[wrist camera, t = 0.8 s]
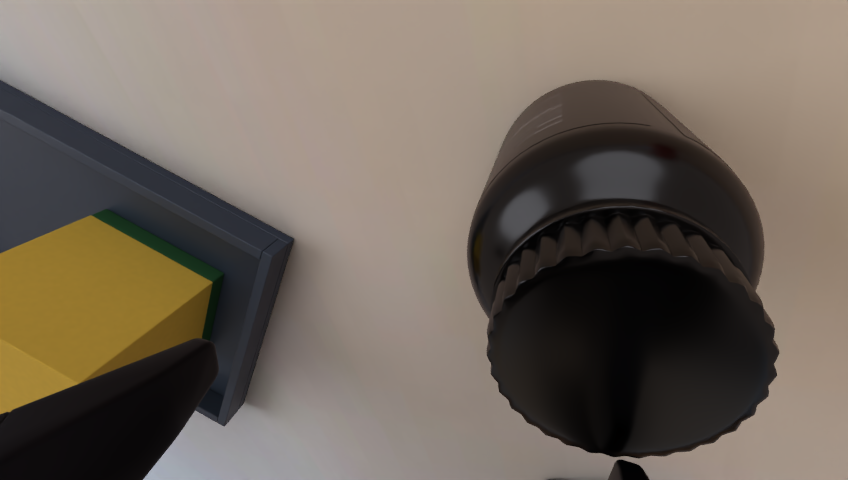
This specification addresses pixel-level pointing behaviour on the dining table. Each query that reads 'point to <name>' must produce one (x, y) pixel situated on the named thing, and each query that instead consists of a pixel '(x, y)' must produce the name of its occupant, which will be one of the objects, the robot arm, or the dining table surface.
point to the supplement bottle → (620, 277)
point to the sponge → (95, 304)
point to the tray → (142, 224)
